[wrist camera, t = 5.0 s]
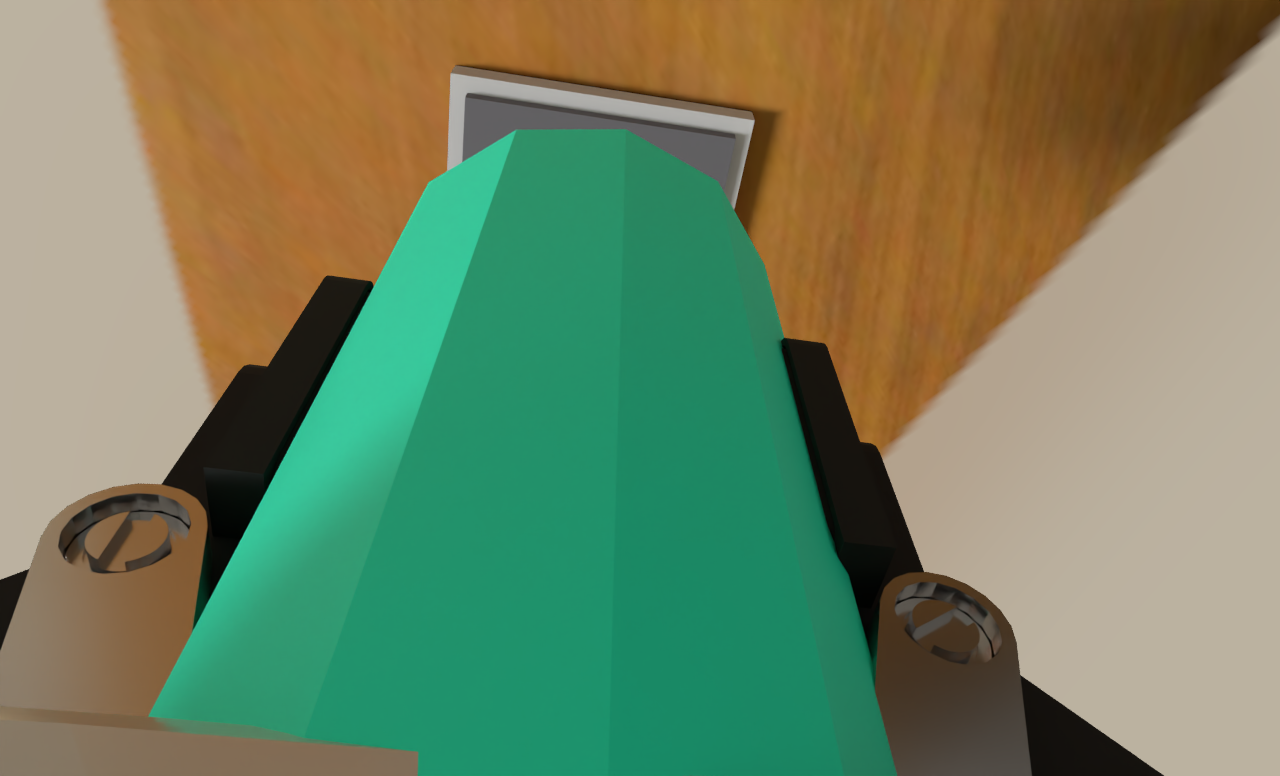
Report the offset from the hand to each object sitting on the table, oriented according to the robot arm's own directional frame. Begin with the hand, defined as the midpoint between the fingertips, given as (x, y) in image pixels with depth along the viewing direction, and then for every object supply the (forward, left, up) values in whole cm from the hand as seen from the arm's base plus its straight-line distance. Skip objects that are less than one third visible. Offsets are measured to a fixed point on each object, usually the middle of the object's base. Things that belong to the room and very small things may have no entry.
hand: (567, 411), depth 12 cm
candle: (0, 0, -3) cm, 3 cm away
